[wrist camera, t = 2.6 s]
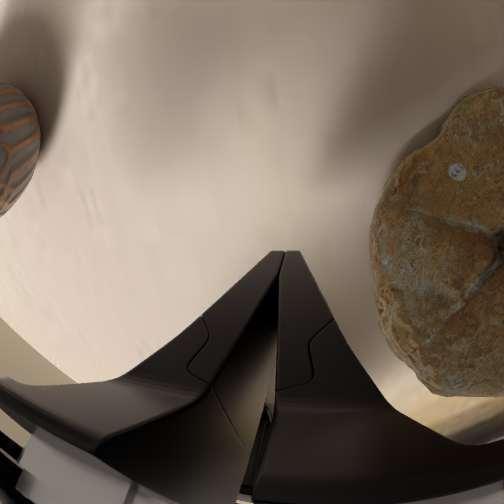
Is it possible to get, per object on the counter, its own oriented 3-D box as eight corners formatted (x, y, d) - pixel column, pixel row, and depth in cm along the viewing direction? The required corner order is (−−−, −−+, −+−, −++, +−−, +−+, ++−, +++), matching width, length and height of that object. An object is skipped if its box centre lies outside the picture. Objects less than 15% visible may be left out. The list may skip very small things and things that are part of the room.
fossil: (654, 224, 2) (471, 458, 6) (609, 236, 6) (472, 405, 9) (474, 44, 6) (307, 264, 10) (476, 101, 10) (350, 264, 14)
